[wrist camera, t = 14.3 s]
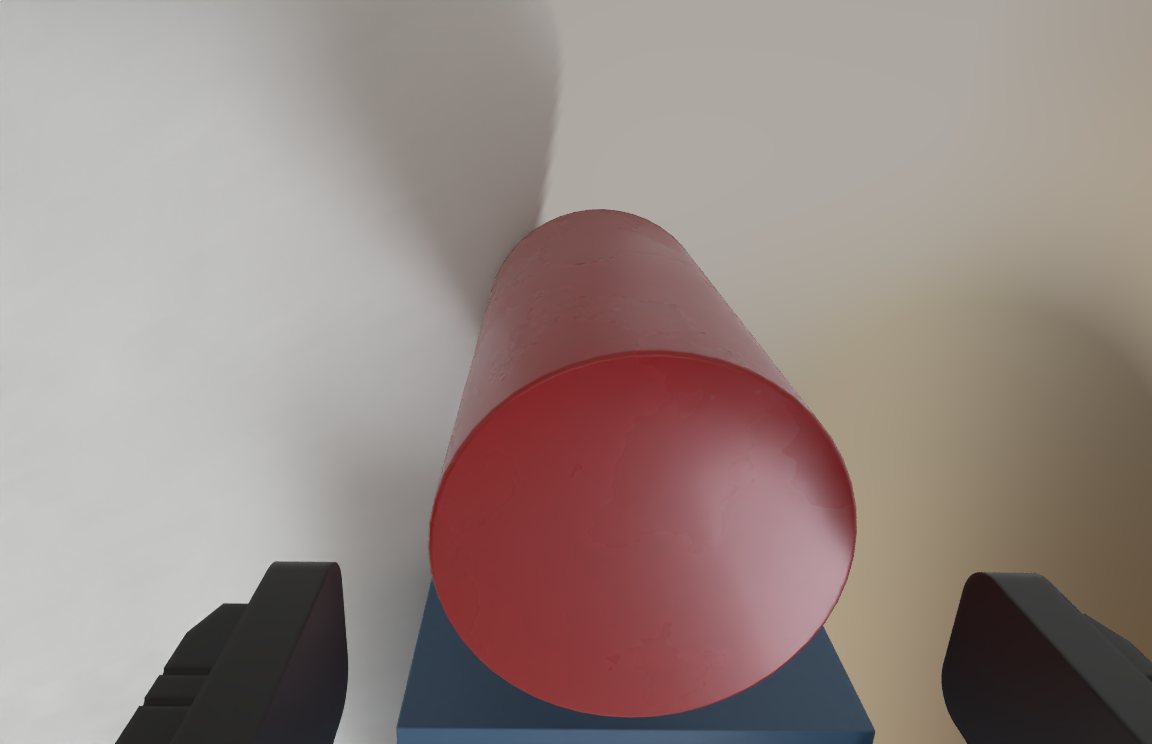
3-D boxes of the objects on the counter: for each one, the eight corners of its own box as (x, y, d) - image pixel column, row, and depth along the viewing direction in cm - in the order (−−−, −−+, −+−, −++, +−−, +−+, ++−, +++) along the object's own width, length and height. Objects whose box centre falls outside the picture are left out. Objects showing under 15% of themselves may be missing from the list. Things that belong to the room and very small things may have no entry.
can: (488, 415, 23) (433, 718, 12) (488, 204, 20) (421, 344, 10) (695, 420, 23) (822, 721, 12) (717, 212, 21) (896, 358, 10)
